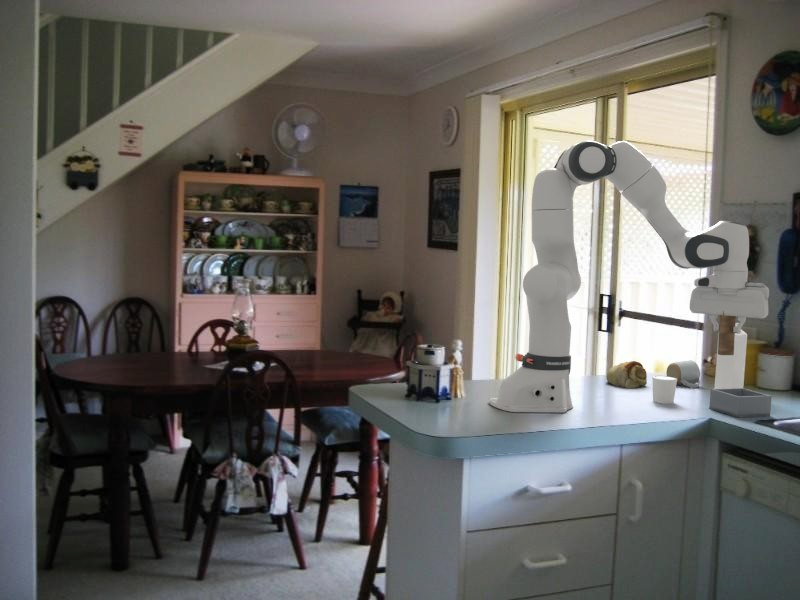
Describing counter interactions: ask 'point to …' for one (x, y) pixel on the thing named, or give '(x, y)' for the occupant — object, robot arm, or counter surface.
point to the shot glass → (664, 389)
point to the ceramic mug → (685, 373)
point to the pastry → (627, 375)
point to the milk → (732, 364)
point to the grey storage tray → (740, 402)
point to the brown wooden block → (726, 335)
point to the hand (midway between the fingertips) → (726, 332)
